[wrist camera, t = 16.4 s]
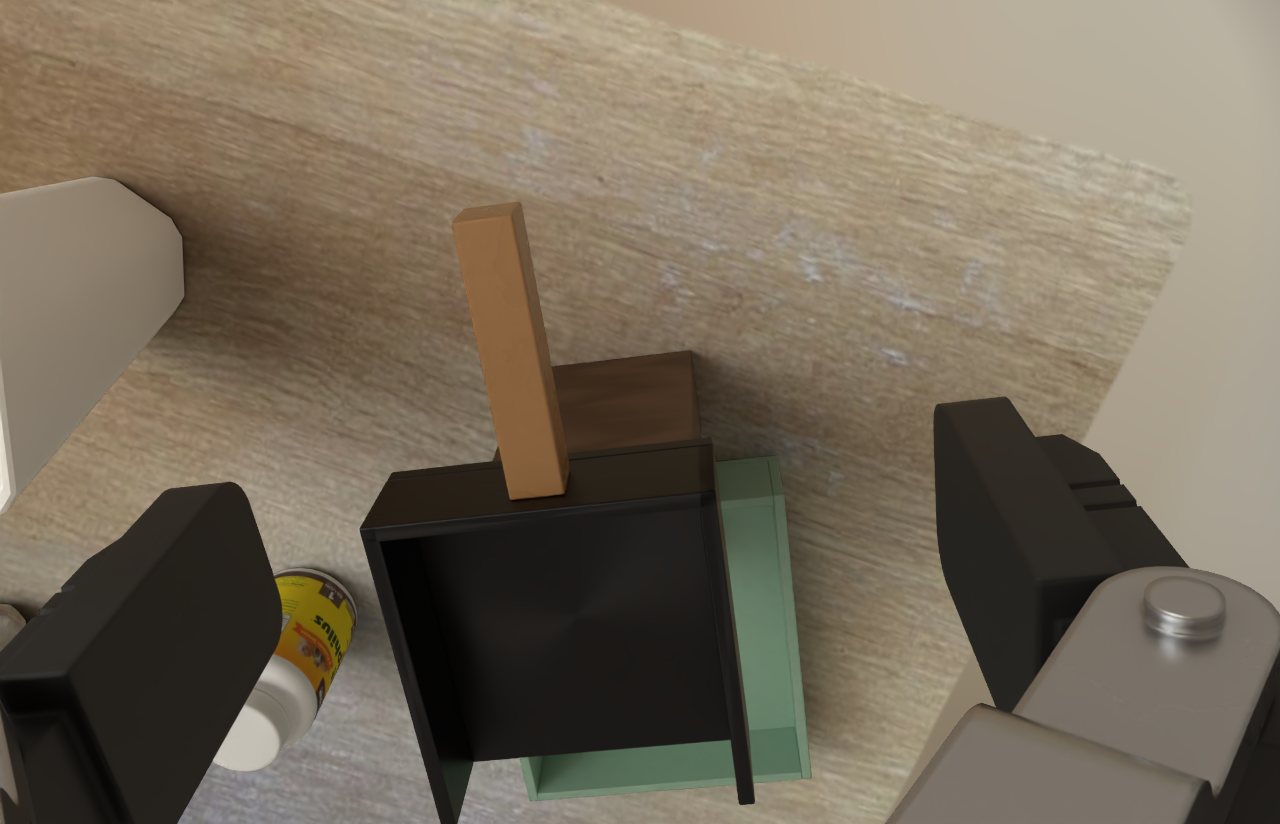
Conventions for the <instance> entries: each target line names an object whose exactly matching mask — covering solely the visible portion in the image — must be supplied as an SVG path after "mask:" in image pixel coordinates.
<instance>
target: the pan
mask: <svg viewBox="0 0 1280 824" xmlns="http://www.w3.org/2000/svg"><path fill="white" fill-rule="evenodd" d="M452 229H453V233H454V238H455V243H456V248H457V252H458V257H459V262H460V266H461V271H462V276H463V281H464V285H465V290H466V295H467V299H468V304H469V309H470V314H471V318H472V323H473V328H474V333H475V337H476V342H477V347H478V351H479V356H480V361H481V366H482V370H483V375H484V380H485V385H486V389H487V394H488V399H489V403H490V408H491V413H492V418H493V422H494V427H495V432H496V437H497V441H498V446H499V451H500V455H501V460H500V461H491V462H482V463H473V464H464V465H455V466H446V467H437V468H428V469H419V470H410V471H401V472H393V473H391V475H390V477H389V478H388V481H387V482H386V483H385V485H384V487H383V489H382V490H381V492H380V494H379V496H378V497H377V499H376V501H375V503H374V504H373V506H372V508H371V510H370V511H369V513H368V515H367V517H366V518H365V520H364V522H363V524H362V525H361V527H360V533H361V537H362V541H363V544H364V548H365V552H366V555H367V559H368V562H369V566H370V570H371V573H372V577H373V580H374V584H375V588H376V591H377V595H378V598H379V602H380V606H381V609H382V613H383V617H384V620H385V624H386V627H387V631H388V635H389V638H390V642H391V645H392V649H393V653H394V656H395V660H396V664H397V667H398V671H399V674H400V678H401V682H402V685H403V689H404V692H405V696H406V700H407V703H408V707H409V711H410V714H411V718H412V721H413V725H414V729H415V732H416V736H417V739H418V743H419V747H420V750H421V754H422V758H423V761H424V765H425V768H426V772H427V776H428V779H429V783H430V786H431V790H432V794H433V797H434V801H435V804H436V808H437V812H438V815H439V819H440V823H441V824H457V823H458V819H459V815H460V812H461V808H462V804H463V800H464V797H465V793H466V789H467V785H468V781H469V778H470V774H471V770H472V766H473V762H478V761H489V760H501V759H513V758H525V757H536V756H548V755H560V754H572V753H584V752H595V751H607V750H619V749H631V748H643V747H654V746H666V745H678V744H690V743H701V742H713V741H725V740H730V741H731V748H732V756H733V763H734V771H735V778H736V786H737V793H738V800H739V804H740V805H746V804H754V803H755V797H754V784H753V772H752V760H751V747H750V737H749V736H750V735H749V724H748V716H747V709H746V701H745V693H744V685H743V677H742V669H741V661H740V653H739V645H738V637H737V629H736V621H735V613H734V605H733V597H732V589H731V581H730V573H729V565H728V557H727V549H726V541H725V533H724V525H723V517H722V509H721V501H720V493H719V485H718V477H717V469H716V461H715V453H714V445H713V439H712V437H707V438H698V439H689V440H680V441H671V442H662V443H653V444H644V445H635V446H626V447H617V448H608V449H599V450H590V451H581V452H572V453H567V448H566V442H565V437H564V432H563V426H562V421H561V415H560V410H559V405H558V399H557V394H556V388H555V383H554V377H553V372H552V367H551V361H550V356H549V350H548V345H547V339H546V334H545V329H544V323H543V318H542V312H541V307H540V302H539V296H538V291H537V285H536V280H535V274H534V269H533V264H532V258H531V253H530V247H529V242H528V236H527V231H526V226H525V220H524V215H523V209H522V204H521V203H520V202H512V203H505V204H497V205H490V206H482V207H475V208H467V209H464V210H463V211H462V212H461V213H460V214H459V215H458V216H457V217H456V218H455V220H454V221H453V222H452Z"/></svg>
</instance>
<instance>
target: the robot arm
mask: <svg viewBox="0 0 1280 824" xmlns="http://www.w3.org/2000/svg"><path fill="white" fill-rule="evenodd" d="M934 459H935V490H936V521H937V538H938V547H939V554H940V559H941V564H942V569H943V573H944V577H945V580H946V583H947V586H948V589H949V591H950V594H951V596H952V599H953V601H954V604H955V606H956V609H957V611H958V613H959V616H960V618H961V621H962V623H963V626H964V628H965V631H966V633H967V636H968V638H969V641H970V643H971V646H972V648H973V651H974V653H975V656H976V658H977V661H978V663H979V666H980V668H981V671H982V673H983V676H984V678H985V681H986V683H987V686H988V688H989V690H990V693H991V696H992V698H993V701H994V703H995V706H996V707H993V706H990V705H987V704H984V703H980V704H977V705H975V706H973V707H972V708H971V709H969V710H968V711H967V712H966V713H965V714H964V716H963V717H962V718H961V719H960V721H959V722H958V724H957V725H956V726H955V728H954V729H953V730H952V732H951V733H950V735H949V736H948V737H947V739H946V740H945V741H944V743H943V744H942V746H941V747H940V748H939V750H938V751H937V753H936V754H935V755H934V757H933V758H932V759H931V761H930V762H929V764H928V765H927V766H926V768H925V769H924V771H923V772H922V773H921V775H920V776H919V777H918V779H917V780H916V782H915V783H914V784H913V786H912V787H911V789H910V790H909V791H908V793H907V794H906V795H905V797H904V798H903V800H902V801H901V802H900V804H899V805H898V807H897V808H896V809H895V811H894V812H893V813H892V815H891V816H890V818H889V819H888V820H887V822H886V823H885V824H1280V614H1279V612H1278V611H1277V610H1276V609H1275V607H1274V606H1273V605H1272V604H1271V603H1270V602H1269V601H1268V600H1267V599H1266V598H1264V597H1263V596H1262V595H1260V594H1259V593H1257V592H1256V591H1255V590H1253V589H1251V588H1250V587H1248V586H1246V585H1244V584H1242V583H1240V582H1237V581H1235V580H1233V579H1230V578H1227V577H1225V576H1222V575H1218V574H1215V573H1211V572H1208V571H1202V570H1197V569H1192V568H1189V566H1188V565H1187V564H1186V563H1185V561H1184V560H1183V559H1182V558H1181V556H1180V555H1179V554H1178V553H1177V552H1176V550H1175V549H1174V548H1173V546H1172V545H1171V544H1170V543H1169V541H1168V540H1167V539H1166V538H1165V536H1164V535H1163V534H1162V532H1161V531H1160V530H1159V529H1158V528H1157V526H1156V525H1155V524H1154V522H1153V521H1152V520H1151V519H1150V517H1149V516H1148V515H1147V513H1146V512H1145V511H1144V510H1143V508H1142V507H1141V506H1137V504H1136V500H1135V498H1134V497H1133V496H1132V495H1131V493H1130V492H1129V491H1128V489H1127V488H1126V487H1125V486H1124V485H1120V479H1119V478H1118V477H1117V476H1116V474H1115V473H1114V472H1113V471H1112V469H1111V468H1110V467H1109V466H1108V464H1107V463H1106V462H1105V460H1104V459H1103V458H1102V457H1101V455H1100V454H1099V453H1097V452H1095V451H1093V450H1091V449H1089V448H1087V447H1085V446H1083V445H1082V444H1080V443H1078V442H1076V441H1074V440H1072V439H1070V438H1068V437H1066V436H1065V435H1063V434H1059V435H1050V436H1041V437H1035V436H1034V435H1033V433H1032V432H1031V430H1030V429H1029V428H1028V426H1027V425H1026V423H1025V422H1024V420H1023V419H1022V417H1021V416H1020V415H1019V413H1018V412H1017V410H1016V409H1015V407H1014V406H1013V404H1012V403H1011V402H1010V400H1009V399H1008V398H1007V397H996V398H987V399H978V400H969V401H961V402H952V403H943V404H937V405H936V407H935V411H934ZM61 589H62V591H61V593H55V595H54V596H53V597H52V598H51V599H50V600H49V601H48V602H47V603H46V604H45V605H44V606H43V607H42V608H41V609H40V610H39V611H40V616H34V617H33V618H32V619H31V620H30V621H29V622H28V623H27V624H26V625H25V626H24V627H23V628H22V629H21V631H20V632H19V633H18V634H17V635H16V636H15V637H14V638H13V639H12V640H11V641H10V642H9V643H8V644H7V645H6V646H5V647H4V649H3V650H2V651H1V652H0V824H177V823H178V821H179V819H180V817H181V816H182V814H183V812H184V810H185V809H186V807H187V805H188V803H189V802H190V800H191V798H192V796H193V794H194V793H195V791H196V789H197V787H198V786H199V784H200V782H201V780H202V779H203V777H204V775H205V773H206V771H207V770H208V768H209V766H210V764H211V763H212V761H213V759H214V757H215V756H216V754H217V752H218V750H219V749H220V747H221V745H222V743H223V741H224V740H225V738H226V736H227V734H228V733H229V731H230V729H231V727H232V726H233V724H234V722H235V720H236V719H237V717H238V715H239V713H240V711H241V710H242V708H243V706H244V704H245V703H246V701H247V699H248V697H249V696H250V694H251V692H252V690H253V688H254V687H255V685H256V683H257V681H258V680H259V678H260V676H261V674H262V673H263V671H264V669H265V667H266V666H267V664H268V662H269V660H270V658H271V657H272V655H273V653H274V651H275V650H276V648H277V645H278V643H279V640H280V636H281V631H282V621H283V613H282V602H281V597H280V593H279V590H278V587H277V584H276V581H275V578H274V575H273V572H272V569H271V566H270V563H269V560H268V557H267V554H266V551H265V548H264V545H263V542H262V539H261V536H260V533H259V530H258V527H257V524H256V521H255V518H254V515H253V512H252V509H251V506H250V503H249V501H248V498H247V496H246V494H245V492H244V491H243V490H242V488H241V487H240V486H239V485H237V484H236V483H233V482H225V483H216V484H207V485H198V486H189V487H180V488H171V489H168V490H166V491H164V492H163V493H162V494H161V495H160V496H159V497H158V498H157V499H156V500H155V501H154V503H153V504H152V505H151V506H150V507H149V508H148V509H147V510H146V511H145V512H144V513H143V514H142V516H141V517H140V518H139V519H138V520H137V521H136V522H135V523H134V524H133V525H132V526H131V527H130V529H129V530H128V531H127V532H126V533H125V534H124V535H123V536H122V537H121V538H120V539H118V540H117V541H115V542H114V543H112V544H111V545H109V546H108V547H106V548H105V549H103V550H102V551H100V552H98V553H97V554H95V555H94V556H92V557H91V558H89V559H88V560H87V561H86V562H85V563H84V564H83V565H82V566H81V567H80V568H79V569H78V570H77V571H76V572H75V573H74V574H73V575H72V577H71V578H70V579H69V580H68V581H67V582H66V583H65V584H64V585H63V586H62V587H61Z"/></svg>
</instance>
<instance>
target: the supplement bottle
mask: <svg viewBox="0 0 1280 824" xmlns="http://www.w3.org/2000/svg"><path fill="white" fill-rule="evenodd" d="M274 578H275V581H276V584H277V587H278V590H279V593H280V597H281V602H282V613H283V621H282V631H281V636H280V640H279V643H278V645H277V648H276V650H275V651H274V653H273V655H272V657H271V658H270V660H269V662H268V664H267V666H266V667H265V669H264V671H263V673H262V674H261V676H260V678H259V680H258V681H257V683H256V685H255V687H254V688H253V690H252V692H251V694H250V696H249V697H248V699H247V701H246V703H245V704H244V706H243V708H242V710H241V711H240V713H239V715H238V717H237V719H236V720H235V722H234V724H233V726H232V727H231V729H230V731H229V733H228V734H227V736H226V738H225V740H224V741H223V743H222V745H221V747H220V749H219V750H218V752H217V754H216V756H215V757H214V759H213V762H215V763H216V764H218V765H220V766H222V767H225V768H228V769H231V770H236V771H254V770H258V769H261V768H264V767H266V766H268V765H269V764H271V763H272V762H273V761H274V760H275V759H276V757H277V756H278V754H279V752H280V750H281V748H284V747H287V746H289V745H291V744H293V743H295V742H296V741H298V740H299V739H300V738H302V737H303V736H304V735H305V734H306V733H307V731H308V730H309V728H310V727H311V725H312V723H313V721H314V720H315V718H316V715H317V713H318V711H319V708H320V707H321V705H322V702H323V700H324V698H325V696H326V694H327V692H328V689H329V687H330V685H331V683H332V681H333V679H334V677H335V675H336V673H337V670H338V668H339V666H340V664H341V662H342V660H343V658H344V655H345V653H346V651H347V649H348V647H349V645H350V642H351V640H352V638H353V636H354V633H355V631H356V627H357V610H356V606H355V603H354V601H353V599H352V597H351V595H350V594H349V592H348V591H347V590H346V589H345V587H344V586H343V585H341V584H340V583H339V582H338V581H337V580H335V579H334V578H332V577H331V576H329V575H327V574H325V573H322V572H320V571H316V570H312V569H306V568H293V569H287V570H283V571H281V572H278V573H276V574H274Z"/></svg>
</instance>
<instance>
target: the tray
mask: <svg viewBox="0 0 1280 824" xmlns="http://www.w3.org/2000/svg"><path fill="white" fill-rule="evenodd" d="M716 469H717V477H718V485H719V493H720V501H721V509H722V517H723V525H724V533H725V541H726V549H727V557H728V565H729V573H730V581H731V589H732V597H733V605H734V613H735V621H736V629H737V637H738V645H739V653H740V661H741V669H742V677H743V685H744V693H745V701H746V709H747V716H748V724H749V735H750V736H749V737H750V747H751V760H752V772H753V783H763V782H775V781H788V780H800V779H811V778H812V775H811V765H810V755H809V744H808V734H807V724H806V714H805V703H804V693H803V683H802V673H801V663H800V652H799V642H798V632H797V622H796V612H795V601H794V591H793V581H792V571H791V561H790V550H789V540H788V530H787V520H786V509H785V499H784V492H783V486H782V480H781V475H780V469H779V464H778V458H777V456H776V455H775V456H766V457H757V458H748V459H738V460H729V461H720V462H716ZM520 762H521V767H522V771H523V775H524V779H525V783H526V787H527V791H528V796H529V800H530V801H538V800H539V801H541V800H553V799H565V798H578V797H590V796H602V795H615V794H627V793H640V792H652V791H664V790H677V789H689V788H701V787H714V786H726V785H736V778H735V771H734V763H733V756H732V748H731V741H730V740H725V741H713V742H701V743H690V744H678V745H666V746H654V747H643V748H631V749H619V750H607V751H595V752H584V753H572V754H560V755H548V756H536V757H525V758H520Z"/></svg>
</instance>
